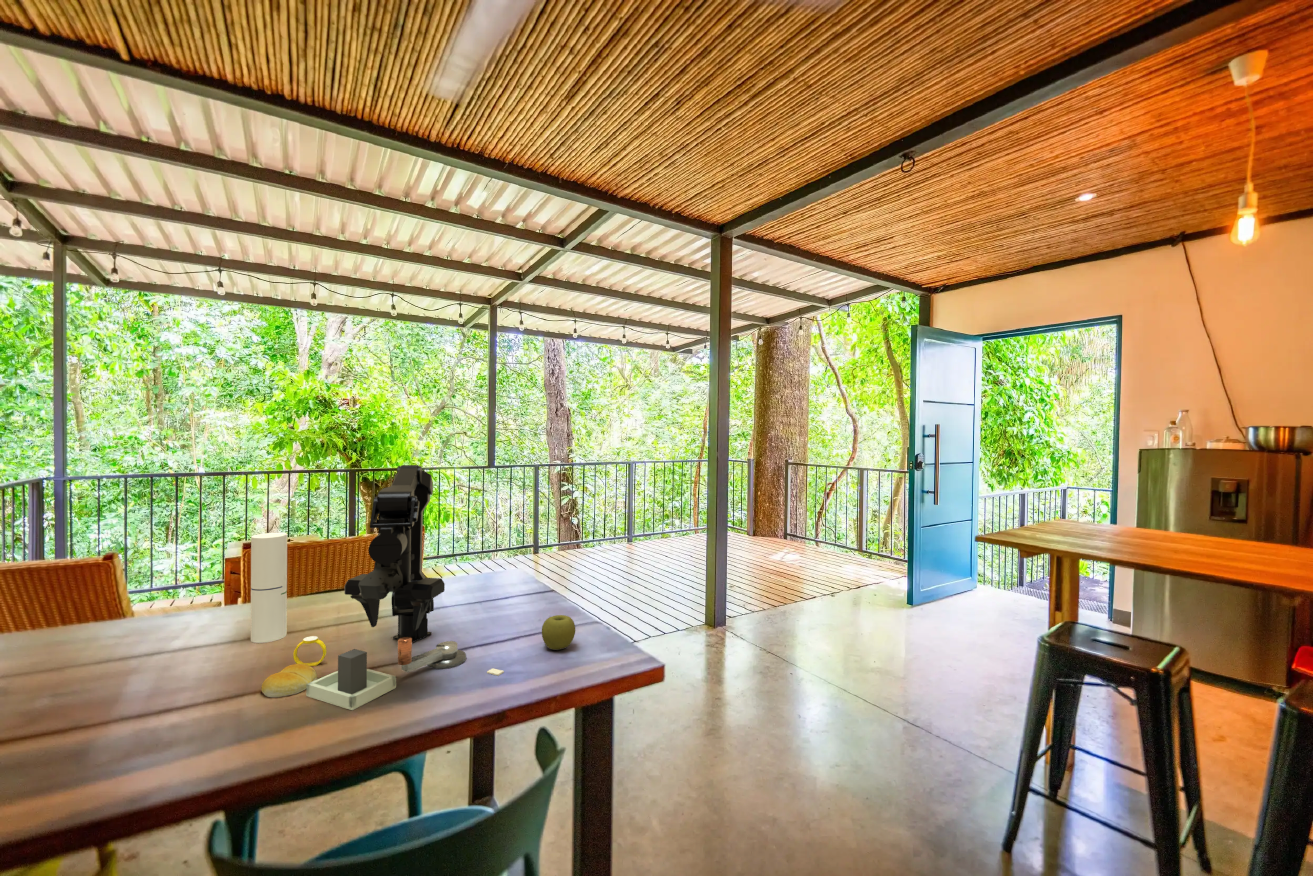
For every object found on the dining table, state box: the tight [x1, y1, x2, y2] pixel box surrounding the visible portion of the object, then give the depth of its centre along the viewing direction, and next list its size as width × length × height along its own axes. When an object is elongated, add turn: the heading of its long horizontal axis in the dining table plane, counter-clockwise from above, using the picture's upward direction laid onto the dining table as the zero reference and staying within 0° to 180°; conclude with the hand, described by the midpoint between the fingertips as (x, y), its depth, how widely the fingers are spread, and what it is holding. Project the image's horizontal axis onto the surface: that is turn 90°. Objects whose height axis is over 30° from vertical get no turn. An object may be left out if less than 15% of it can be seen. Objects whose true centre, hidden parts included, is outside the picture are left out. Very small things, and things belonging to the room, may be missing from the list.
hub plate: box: [427, 649, 467, 670], centre depth 121 cm, size 8×8×1 cm
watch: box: [292, 635, 328, 667], centre depth 118 cm, size 6×3×6 cm, turn 106°
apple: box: [541, 614, 576, 651], centre depth 129 cm, size 8×8×7 cm
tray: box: [305, 668, 397, 711], centre depth 106 cm, size 10×13×2 cm
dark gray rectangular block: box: [337, 648, 368, 695], centre depth 106 cm, size 4×4×7 cm
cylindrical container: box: [250, 532, 288, 644], centre depth 132 cm, size 7×7×25 cm
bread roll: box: [260, 663, 318, 699], centre depth 107 cm, size 8×9×4 cm
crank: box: [397, 637, 458, 673], centre depth 117 cm, size 14×4×7 cm, turn 147°
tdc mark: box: [486, 667, 505, 677], centre depth 115 cm, size 3×2×1 cm, turn 67°
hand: (394, 628), depth 111 cm, fingers open, 9 cm apart
